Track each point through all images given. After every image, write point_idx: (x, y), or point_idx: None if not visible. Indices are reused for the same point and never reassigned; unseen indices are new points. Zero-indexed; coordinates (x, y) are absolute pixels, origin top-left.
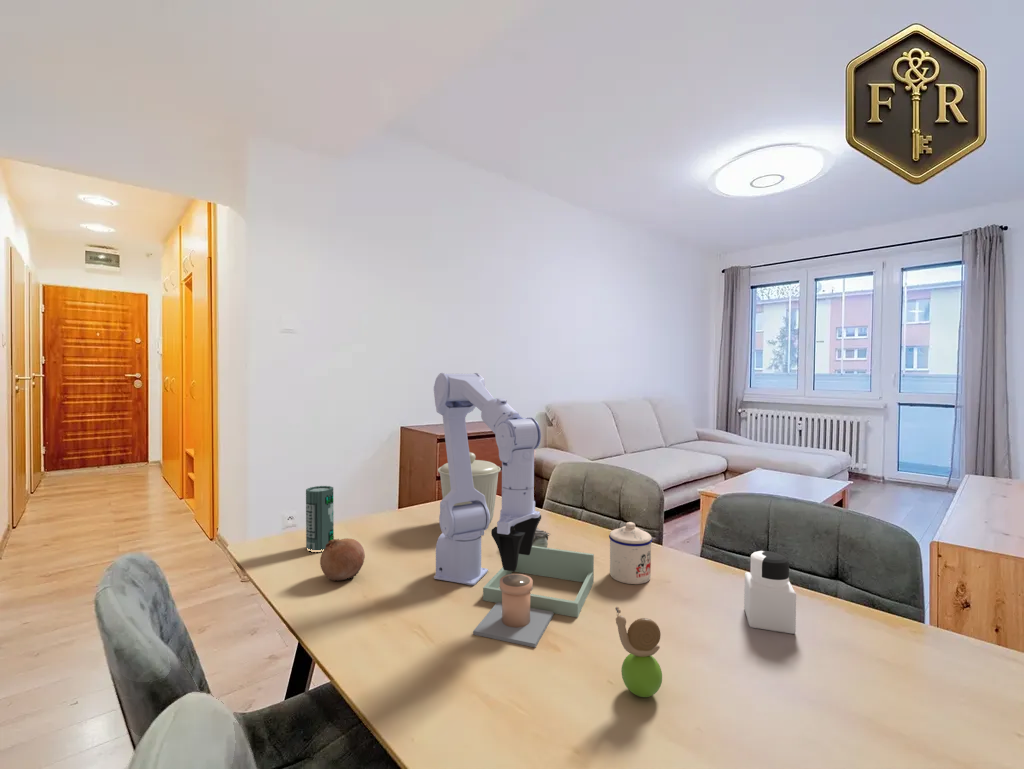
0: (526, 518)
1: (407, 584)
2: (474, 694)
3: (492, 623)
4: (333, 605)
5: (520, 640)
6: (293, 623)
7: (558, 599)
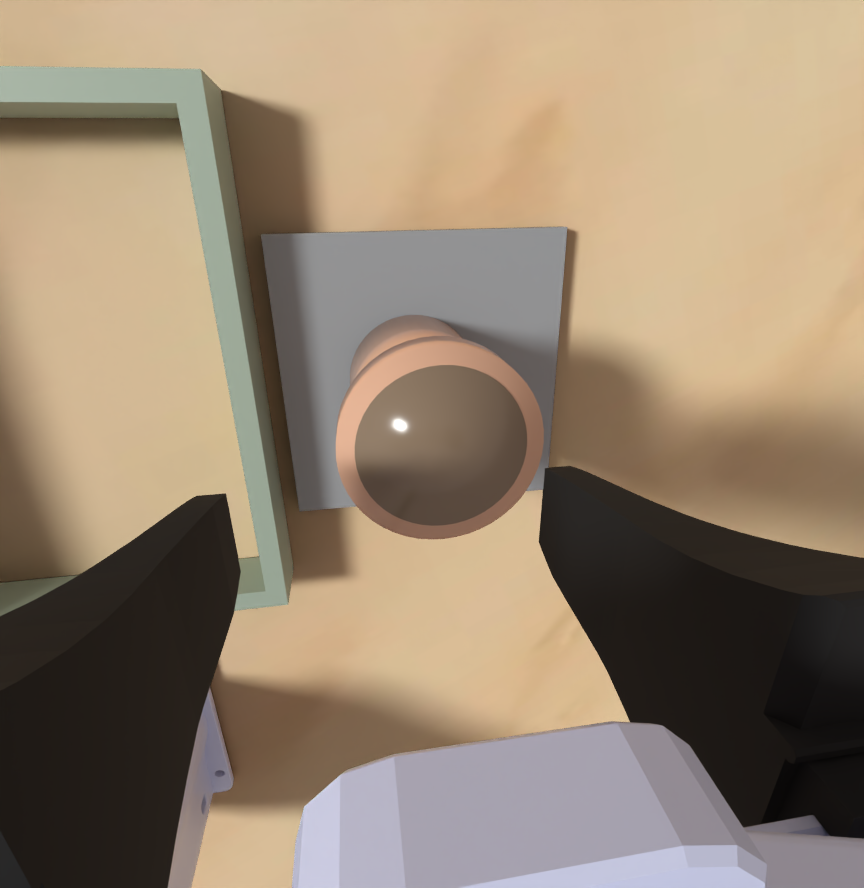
0: (850, 876)
1: None
2: (842, 328)
3: None
4: None
5: (558, 299)
6: None
7: (210, 215)
